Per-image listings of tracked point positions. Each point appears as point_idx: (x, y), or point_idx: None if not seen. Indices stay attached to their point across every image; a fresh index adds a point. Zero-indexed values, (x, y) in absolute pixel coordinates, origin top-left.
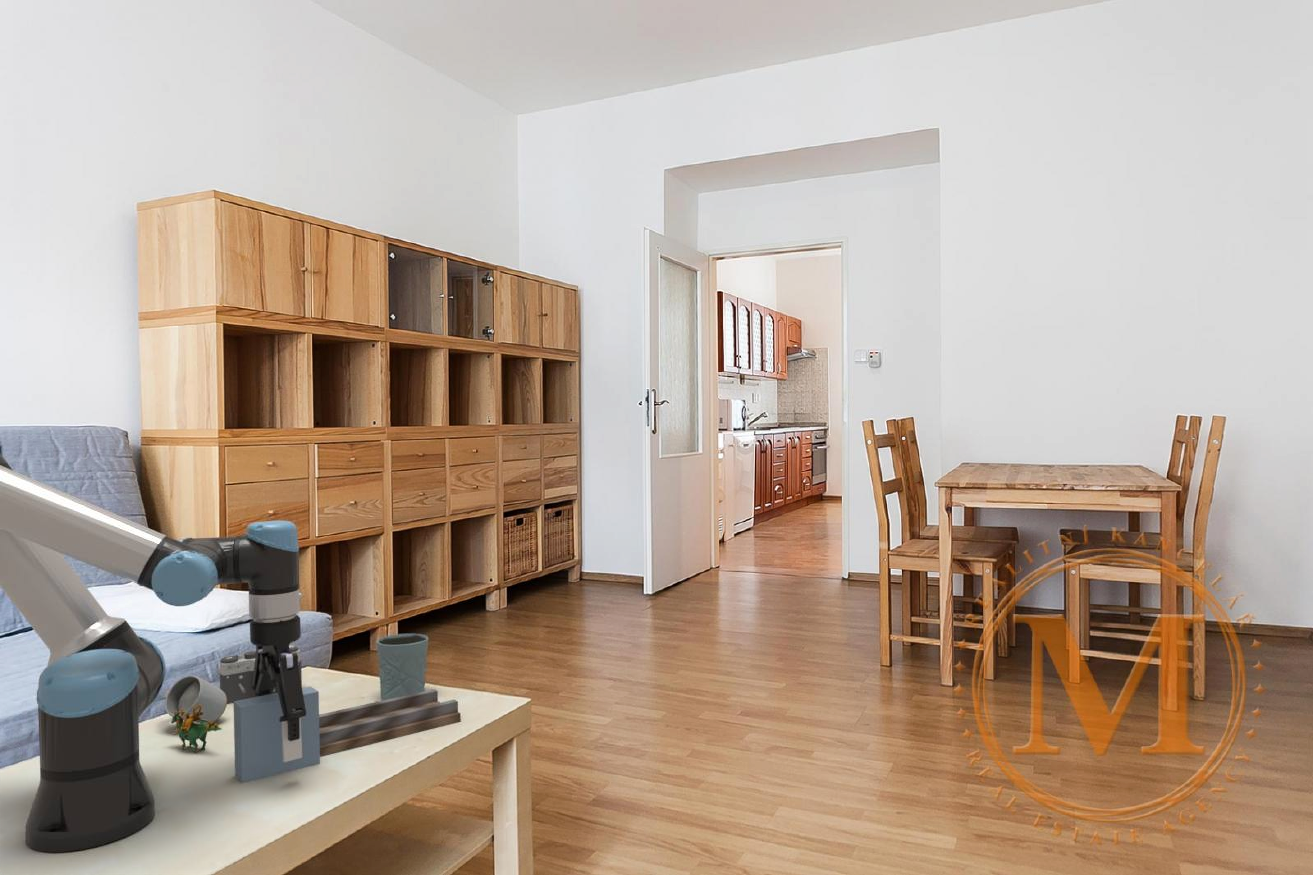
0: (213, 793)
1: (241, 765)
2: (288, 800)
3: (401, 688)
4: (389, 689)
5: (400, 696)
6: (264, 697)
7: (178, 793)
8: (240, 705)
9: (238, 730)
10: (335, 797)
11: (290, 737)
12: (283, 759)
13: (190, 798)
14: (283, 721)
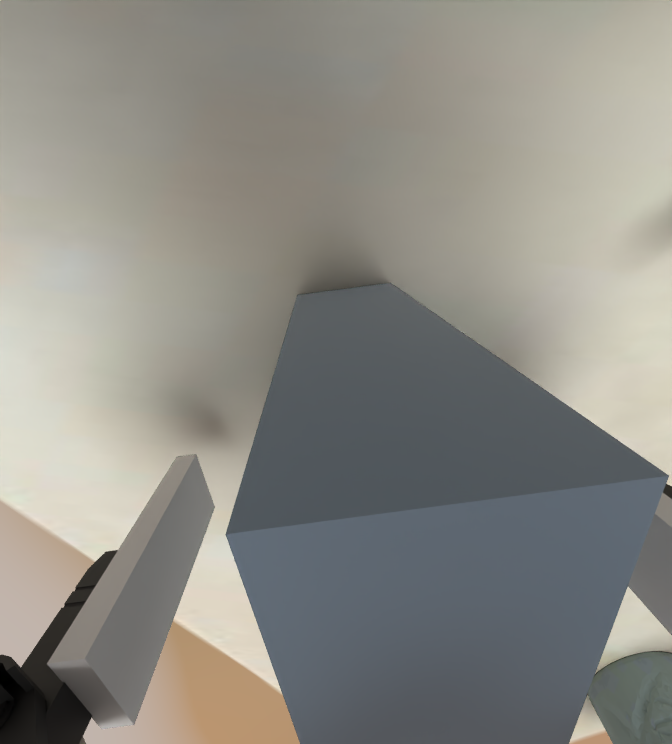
0: (255, 182)
1: (295, 309)
2: (76, 402)
3: (627, 723)
4: (652, 705)
5: (612, 695)
6: (498, 725)
7: (337, 26)
8: (352, 542)
9: (344, 357)
10: (56, 502)
11: (87, 573)
12: (180, 461)
13: (246, 76)
14: (54, 656)
